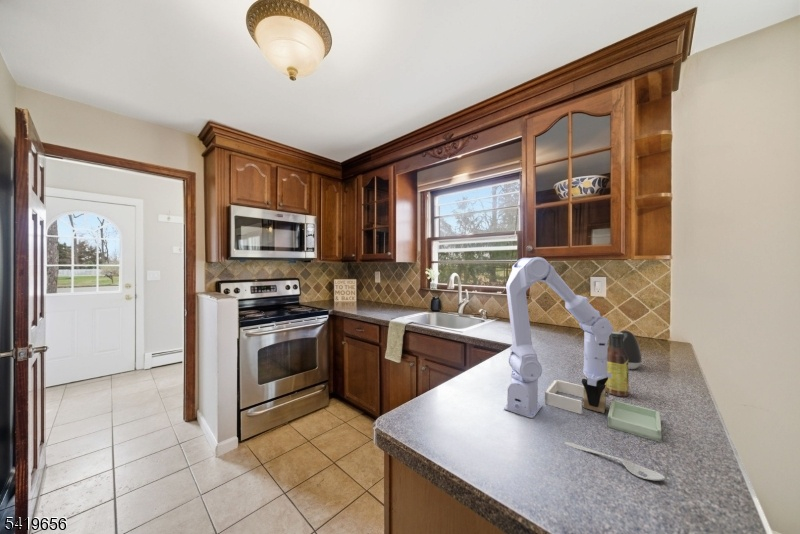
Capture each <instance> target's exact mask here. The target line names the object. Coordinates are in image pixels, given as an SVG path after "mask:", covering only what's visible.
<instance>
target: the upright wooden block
mask: <svg viewBox="0 0 800 534" xmlns="http://www.w3.org/2000/svg"><path fill="white" fill-rule="evenodd" d="M610 395H611V394H610V392H609V391H606V387H605V388H604V390H603V391H602V393H601V397H600V402H599V405H598V407H594V406H590V405H589V402H588V398H587V393H586V390H585V388H584V398H583V401H582V409H587V410H590V411H595V412H597V413H601V414H604V413H605V412H606V409H607V408H606V407H607V398H610Z"/></svg>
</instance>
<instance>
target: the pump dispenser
mask: <svg viewBox="0 0 800 534" xmlns="http://www.w3.org/2000/svg"><path fill="white" fill-rule="evenodd" d="M619 332H620V333H623V334H624V338H623V347H624V349H625V352H626V354H627V357H628V370H630V369H631V370H635V369H637V368H639V366H640V365H641V363H642V361H643V359H642V357H643V356H642V352H641V349H640V345H639V342H638V340H637V338H636V336H635V335H634V333H632V332H631V331H629V330H620V331H619Z"/></svg>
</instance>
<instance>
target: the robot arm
mask: <svg viewBox="0 0 800 534" xmlns="http://www.w3.org/2000/svg"><path fill="white" fill-rule="evenodd" d="M537 282H542V283H545V284H546V285H547V286H548V287H549V288H551V290H553V291H554V293H555V294H557V295H558V296H559V298H561V299H562V300H563V301H564V307H565V309H566V310H567V311H568V312H569V314H571V315H572V317H573V318H574V319H575V320H576V321H578V323H579V327H580V329H581V330H583V333H584V334H583V335H584V336H583V338H584V339H583V342H584V343H583V345H584V346H583V368H582V373H583V375H585V377H586V378H582V379H581V383H582V386H584V388H585V390H586V393H587V398H588V402H589V405H590V406H594V407H598V405H599V402H600V397H601V393H602V391H603V390H604V388H605V386H606V385H605V383H606V381H607V380H608V377H609V378H612V374H611V373H607V354H608V347H609V336H610V335H611V333H612V332H614V327H613V326H612V324H611V323H612V322H611V321H610V320H609V319H608V318H606V317H605V316H604V317H603V316H601V312H600V311H599V310H598V309H595V308H594V306H593V305H592V304H590V303H589V301H590V299H589V298H588V297H586V296H582V295H581V294H580V295H579V294H576V293H575V292H574V291H573V290H572V288H570V287H569V285H568V284H567V283H566V281H564V280H563V278H562V277H561V276H560V275H559V274H558V272H557V271H556V270H555V267H554V265H552V264H550V263H549V262H548V261H547V260H546V259H545V258H544V257H541V256H536V257H522V258H521V257H520V259H518V260H517V261H516V262H515V263H514V264H513V265H512V267H511V272H510V274H509V276H508V280H507V281H506V284H505V289H506V298H507V306H508V315H509V323H510V331H511V340H512V345H510V347H509V349H510V350H509V351H510V354H509V356H508V363H509V366H510V367H511V371H510V372H511V373H510V374H511V375H510V376H511V377H510V378H511V379H510V384H509V385H508V387H507V394H506V395H507V397H506V398H507V400H506V401H507V402H506V403H507V404H506V405H504V407H503V410H506V411H508V412H512V413H515V414H517V415H521V416H524V417H527V418H530V419H534V418H535V417H536V416H537V414H538V412H539V411H540V410H541V409H542V407H543V405H542V403H538V396H539V395H538V394H539V393H538V391H539V386H538V385H539V379H540V378H541V376H542V374H543V367H542V365H541V363H540V361H539V360H538V355H537V352H536V350H535V348H534V346H533V339H532V334H531V333H532V332H531V323H530V316H529V308H528V298H527V291H528V290H529V289H530V288H531V287H532V286H533V284H535V283H537Z"/></svg>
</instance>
